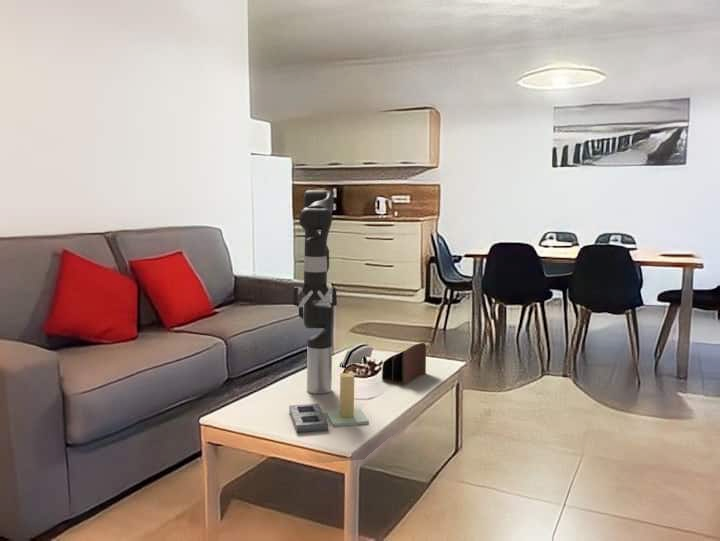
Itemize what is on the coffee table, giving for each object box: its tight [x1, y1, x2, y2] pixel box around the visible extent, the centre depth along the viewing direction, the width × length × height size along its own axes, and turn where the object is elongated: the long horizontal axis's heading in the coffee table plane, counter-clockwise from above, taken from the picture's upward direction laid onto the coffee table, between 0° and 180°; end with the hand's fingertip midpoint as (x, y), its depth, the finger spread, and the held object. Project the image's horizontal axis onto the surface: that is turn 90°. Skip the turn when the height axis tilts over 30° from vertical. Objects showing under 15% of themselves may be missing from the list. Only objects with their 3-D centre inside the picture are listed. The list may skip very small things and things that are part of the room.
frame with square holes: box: [288, 403, 329, 434], centre depth 203 cm, size 18×10×2 cm, turn 14°
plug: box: [339, 372, 355, 418], centre depth 205 cm, size 4×4×14 cm
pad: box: [325, 407, 370, 428], centre depth 206 cm, size 12×12×1 cm
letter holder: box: [381, 342, 427, 386], centre depth 252 cm, size 10×20×14 cm, turn 148°
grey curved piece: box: [339, 342, 374, 367], centre depth 270 cm, size 17×5×10 cm, turn 145°
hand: (314, 318), depth 205 cm, fingers open, 8 cm apart
